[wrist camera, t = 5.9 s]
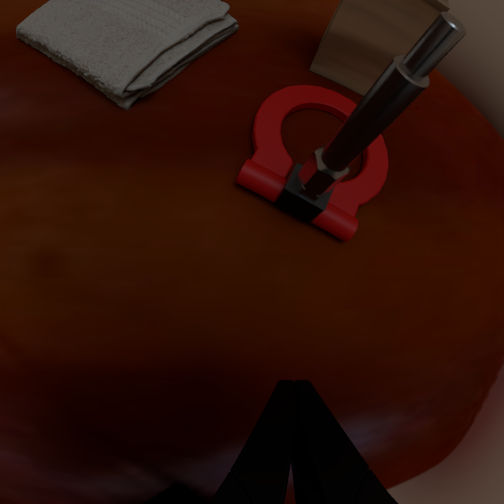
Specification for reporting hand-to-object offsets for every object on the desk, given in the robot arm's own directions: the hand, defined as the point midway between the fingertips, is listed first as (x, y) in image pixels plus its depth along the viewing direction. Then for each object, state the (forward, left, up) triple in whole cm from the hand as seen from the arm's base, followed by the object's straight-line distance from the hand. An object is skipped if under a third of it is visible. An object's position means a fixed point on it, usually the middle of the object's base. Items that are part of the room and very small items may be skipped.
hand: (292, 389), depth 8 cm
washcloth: (+7, +25, -9) cm, 28 cm away
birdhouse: (+18, +12, -8) cm, 23 cm away
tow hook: (+11, +6, -9) cm, 15 cm away
